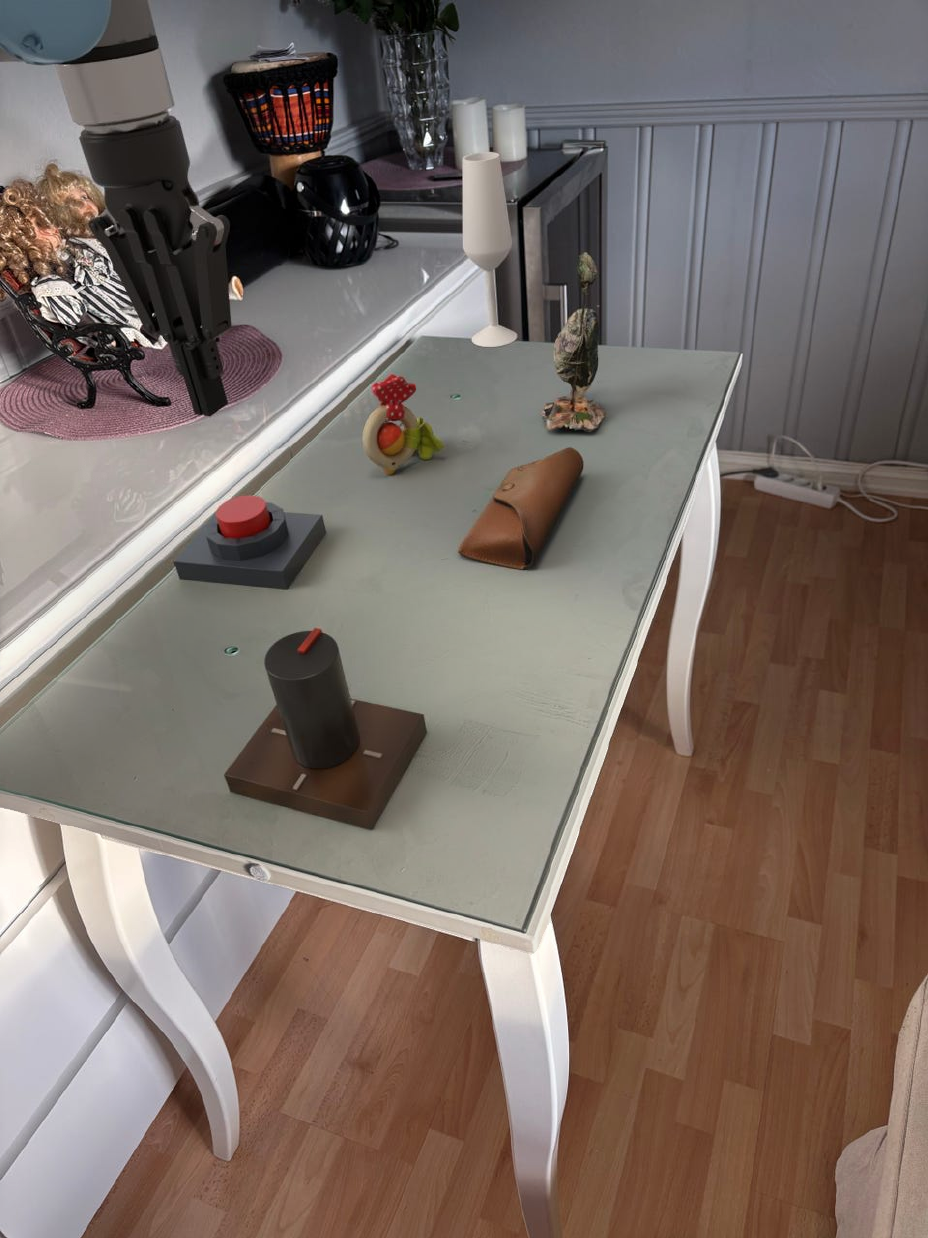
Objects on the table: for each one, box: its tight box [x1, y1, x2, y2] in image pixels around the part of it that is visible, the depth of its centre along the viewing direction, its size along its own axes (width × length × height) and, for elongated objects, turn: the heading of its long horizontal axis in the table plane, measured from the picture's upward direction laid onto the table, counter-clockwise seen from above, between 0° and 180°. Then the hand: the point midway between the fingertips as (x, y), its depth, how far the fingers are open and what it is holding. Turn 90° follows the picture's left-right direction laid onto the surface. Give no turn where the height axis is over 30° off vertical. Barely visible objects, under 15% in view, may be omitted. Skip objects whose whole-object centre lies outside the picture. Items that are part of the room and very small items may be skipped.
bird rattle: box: [362, 373, 445, 475], centre depth 102 cm, size 6×11×9 cm
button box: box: [172, 501, 327, 590], centre depth 92 cm, size 12×10×4 cm
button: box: [215, 494, 270, 539], centre depth 91 cm, size 5×5×2 cm
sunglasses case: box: [457, 447, 585, 571], centre depth 93 cm, size 18×7×7 cm, turn 160°
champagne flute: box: [462, 151, 518, 348], centre depth 124 cm, size 7×7×24 cm
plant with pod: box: [540, 251, 606, 433], centre depth 104 cm, size 8×11×20 cm
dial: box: [263, 627, 360, 769], centre depth 66 cm, size 5×5×9 cm
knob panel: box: [223, 698, 428, 831], centre depth 69 cm, size 12×10×2 cm
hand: (211, 408), depth 83 cm, fingers closed
